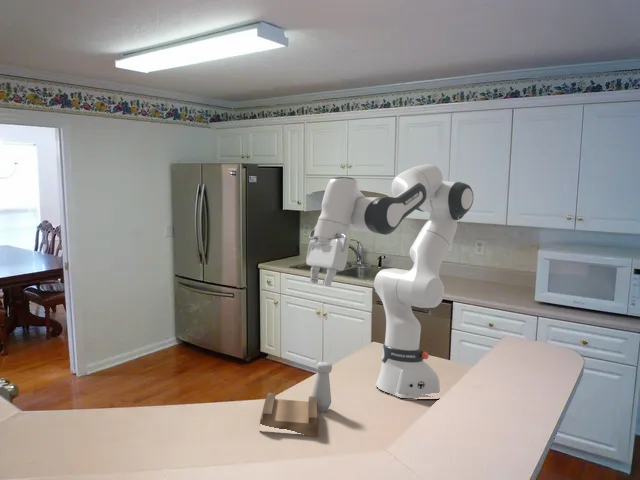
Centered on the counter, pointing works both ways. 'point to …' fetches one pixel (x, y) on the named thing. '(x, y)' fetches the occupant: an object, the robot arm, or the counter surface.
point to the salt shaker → (322, 386)
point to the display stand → (291, 415)
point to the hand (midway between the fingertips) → (319, 284)
